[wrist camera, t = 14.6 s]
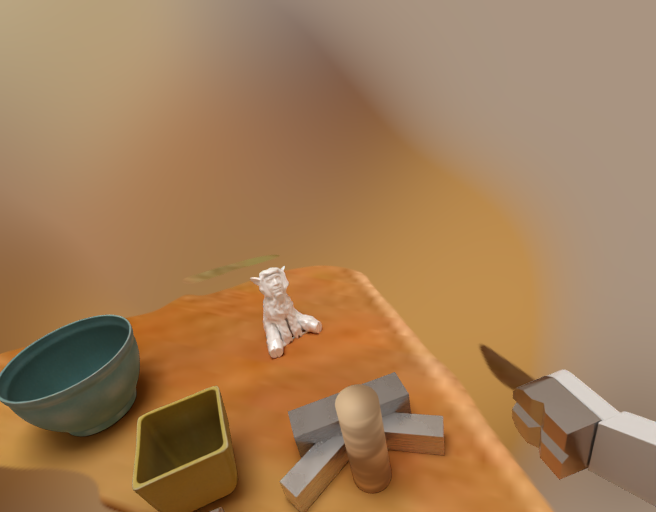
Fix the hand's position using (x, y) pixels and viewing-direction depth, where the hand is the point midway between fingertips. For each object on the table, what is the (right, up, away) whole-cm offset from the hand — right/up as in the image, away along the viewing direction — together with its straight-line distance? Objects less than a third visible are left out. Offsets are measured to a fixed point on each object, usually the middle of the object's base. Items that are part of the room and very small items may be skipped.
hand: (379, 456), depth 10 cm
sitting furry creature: (-8, -8, +53) cm, 54 cm away
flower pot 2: (-14, -20, +33) cm, 41 cm away
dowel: (+3, -17, +30) cm, 35 cm away
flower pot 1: (-34, -17, +46) cm, 59 cm away
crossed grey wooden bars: (+2, -16, +33) cm, 37 cm away
